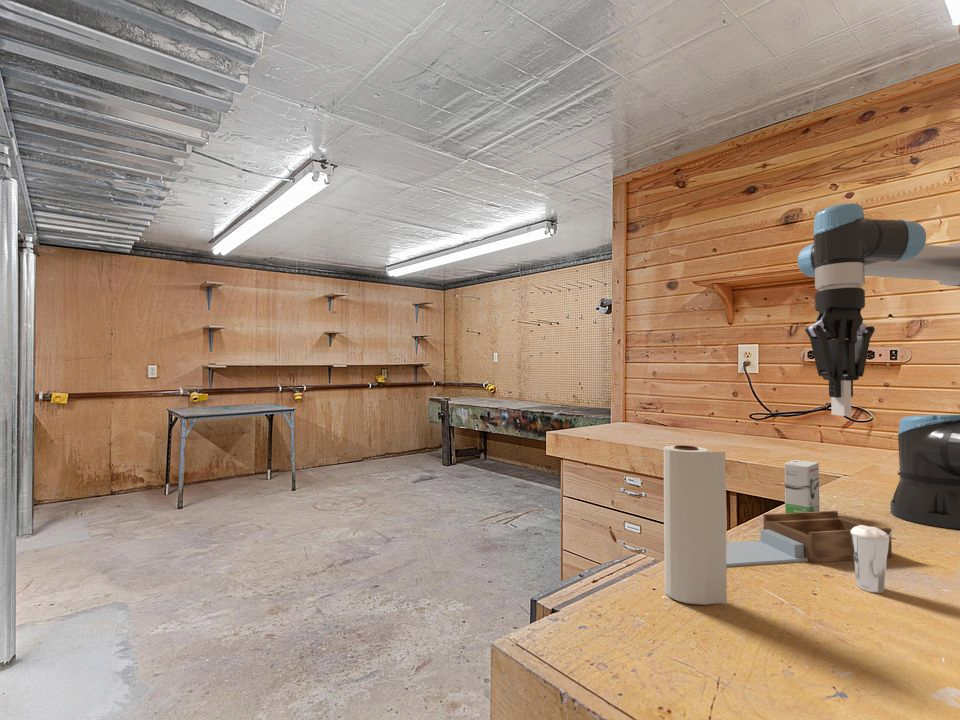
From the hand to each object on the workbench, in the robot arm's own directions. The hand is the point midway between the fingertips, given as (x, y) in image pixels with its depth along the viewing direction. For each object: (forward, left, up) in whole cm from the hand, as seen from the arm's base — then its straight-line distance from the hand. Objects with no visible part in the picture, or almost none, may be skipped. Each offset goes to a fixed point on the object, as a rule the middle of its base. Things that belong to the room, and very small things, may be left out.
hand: (841, 415), depth 90 cm
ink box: (-10, -20, -25) cm, 33 cm away
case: (+4, 0, -24) cm, 25 cm away
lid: (+20, 0, -25) cm, 32 cm away
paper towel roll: (+40, +14, -25) cm, 49 cm away
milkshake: (+11, +16, -25) cm, 31 cm away
